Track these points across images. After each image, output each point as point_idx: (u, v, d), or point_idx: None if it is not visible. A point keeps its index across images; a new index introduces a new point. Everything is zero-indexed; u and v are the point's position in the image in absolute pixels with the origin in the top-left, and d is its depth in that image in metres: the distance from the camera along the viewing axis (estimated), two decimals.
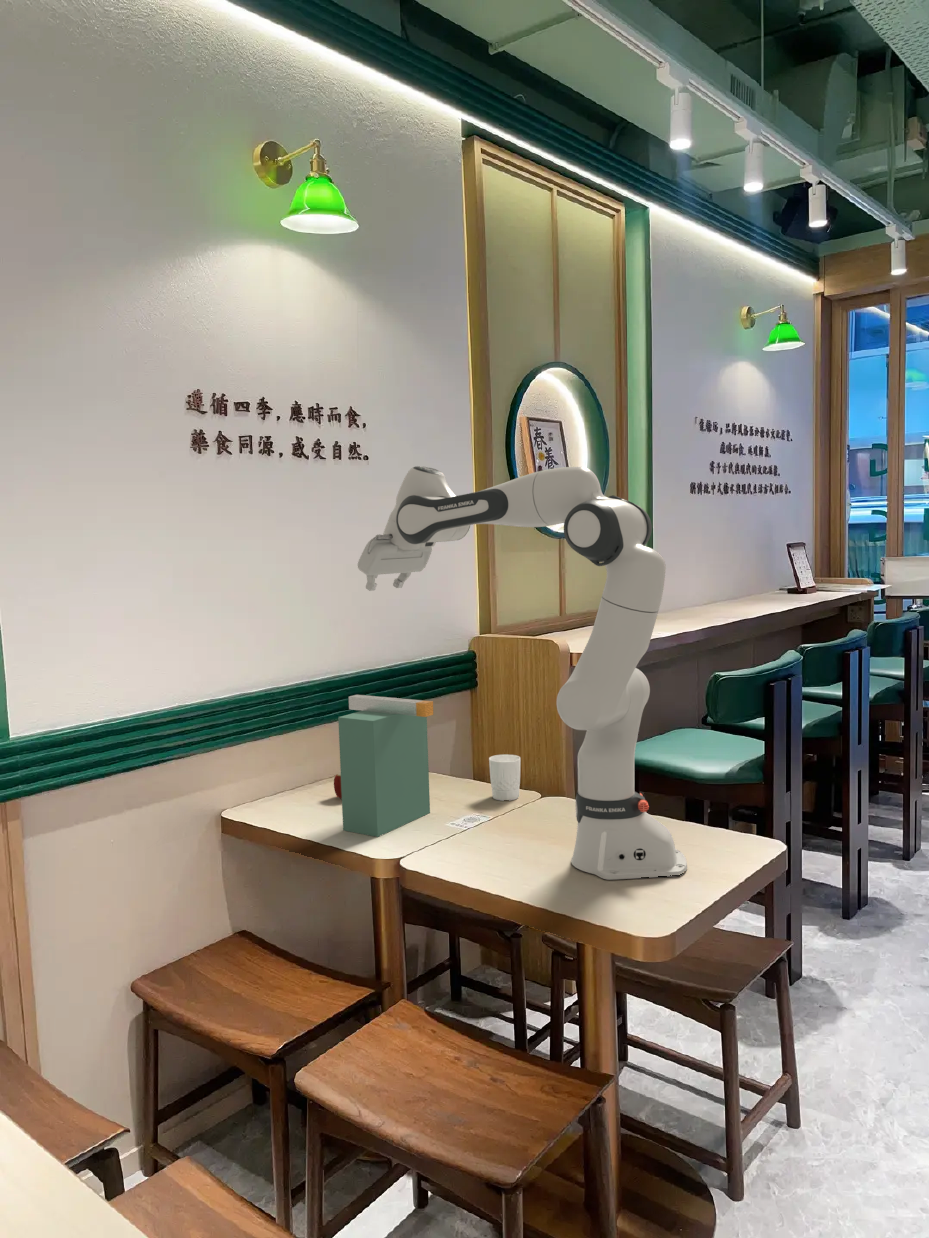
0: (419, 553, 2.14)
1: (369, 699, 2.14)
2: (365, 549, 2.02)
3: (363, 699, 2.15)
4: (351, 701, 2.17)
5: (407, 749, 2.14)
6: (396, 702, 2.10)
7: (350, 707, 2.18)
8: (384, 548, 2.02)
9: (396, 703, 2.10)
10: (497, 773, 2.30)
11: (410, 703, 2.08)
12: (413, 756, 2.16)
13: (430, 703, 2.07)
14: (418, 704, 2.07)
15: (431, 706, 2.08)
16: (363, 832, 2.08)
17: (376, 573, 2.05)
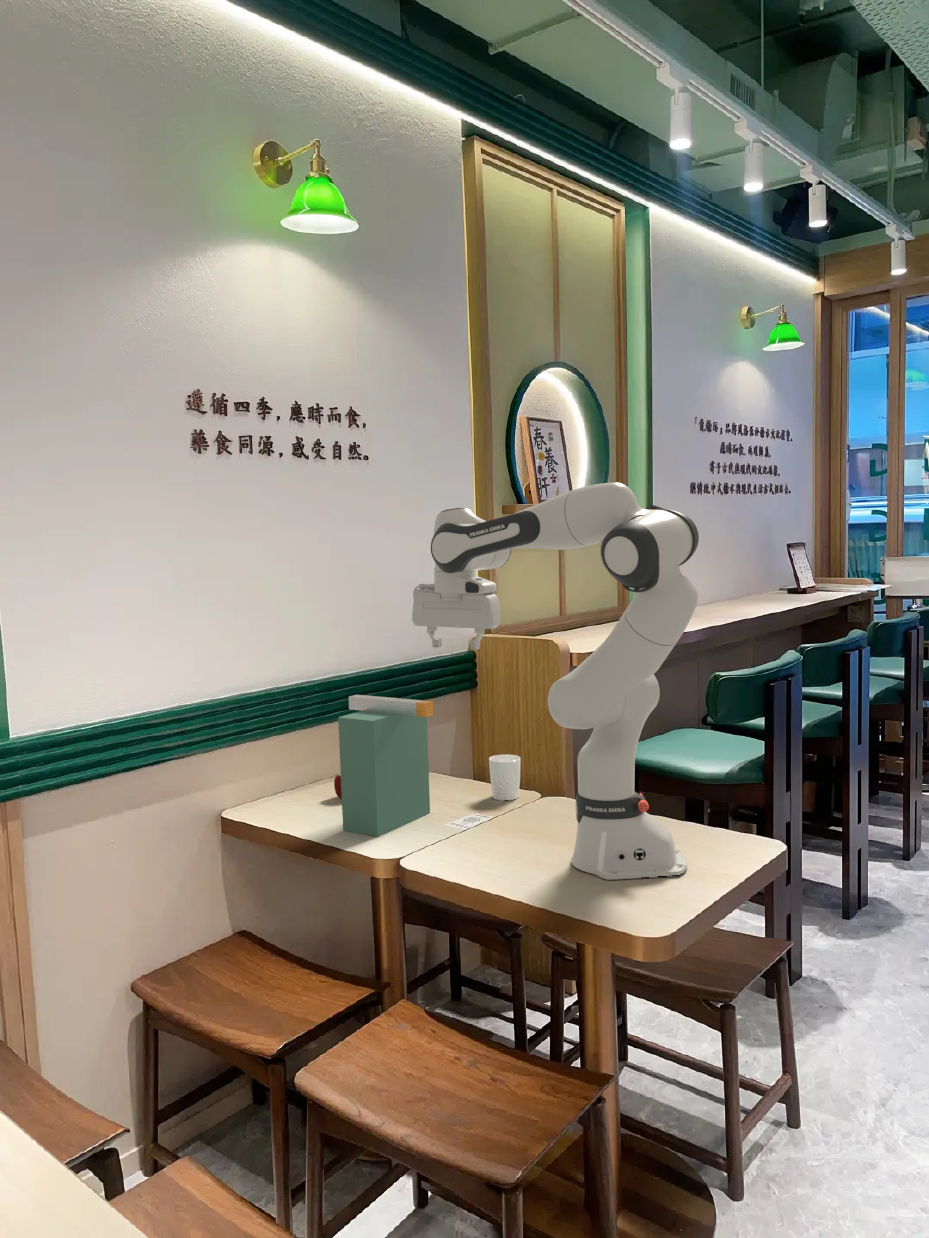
0: (477, 605, 1.96)
1: (369, 699, 2.14)
2: None
3: (363, 699, 2.15)
4: (351, 701, 2.17)
5: (407, 749, 2.14)
6: (396, 702, 2.10)
7: (350, 707, 2.18)
8: (422, 595, 2.02)
9: (396, 703, 2.10)
10: (497, 773, 2.30)
11: (410, 703, 2.08)
12: (413, 756, 2.16)
13: (430, 703, 2.07)
14: (418, 704, 2.07)
15: (431, 706, 2.08)
16: (363, 832, 2.08)
17: (424, 624, 2.03)
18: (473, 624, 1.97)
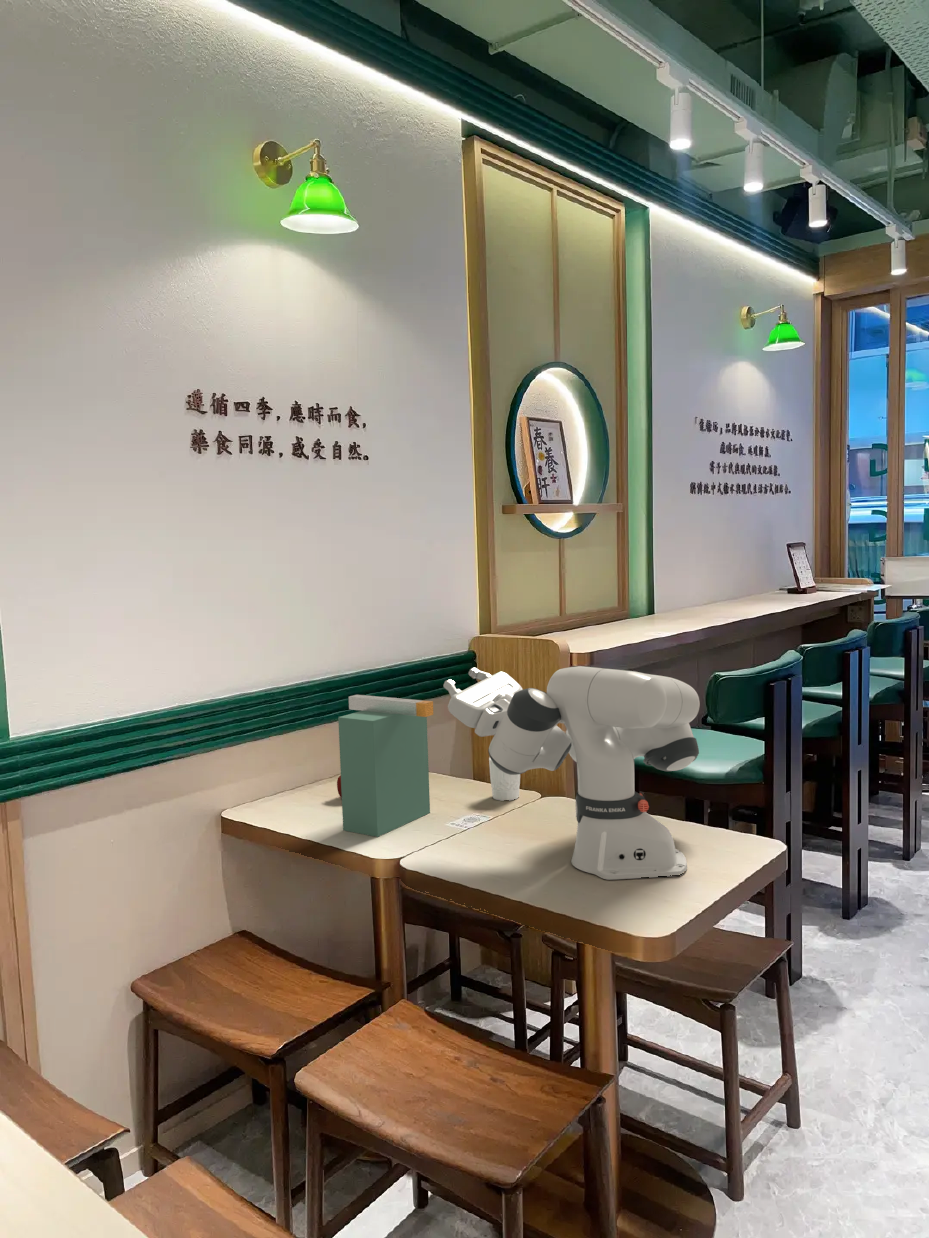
0: (478, 704, 1.96)
1: (369, 699, 2.14)
2: None
3: (363, 699, 2.15)
4: (351, 701, 2.17)
5: (407, 749, 2.14)
6: (396, 702, 2.10)
7: (350, 707, 2.18)
8: (518, 690, 2.05)
9: (396, 703, 2.10)
10: (497, 773, 2.30)
11: (410, 703, 2.08)
12: (413, 756, 2.16)
13: (430, 703, 2.07)
14: (418, 704, 2.07)
15: (431, 706, 2.08)
16: (363, 832, 2.08)
17: (496, 674, 2.07)
18: (466, 691, 1.98)
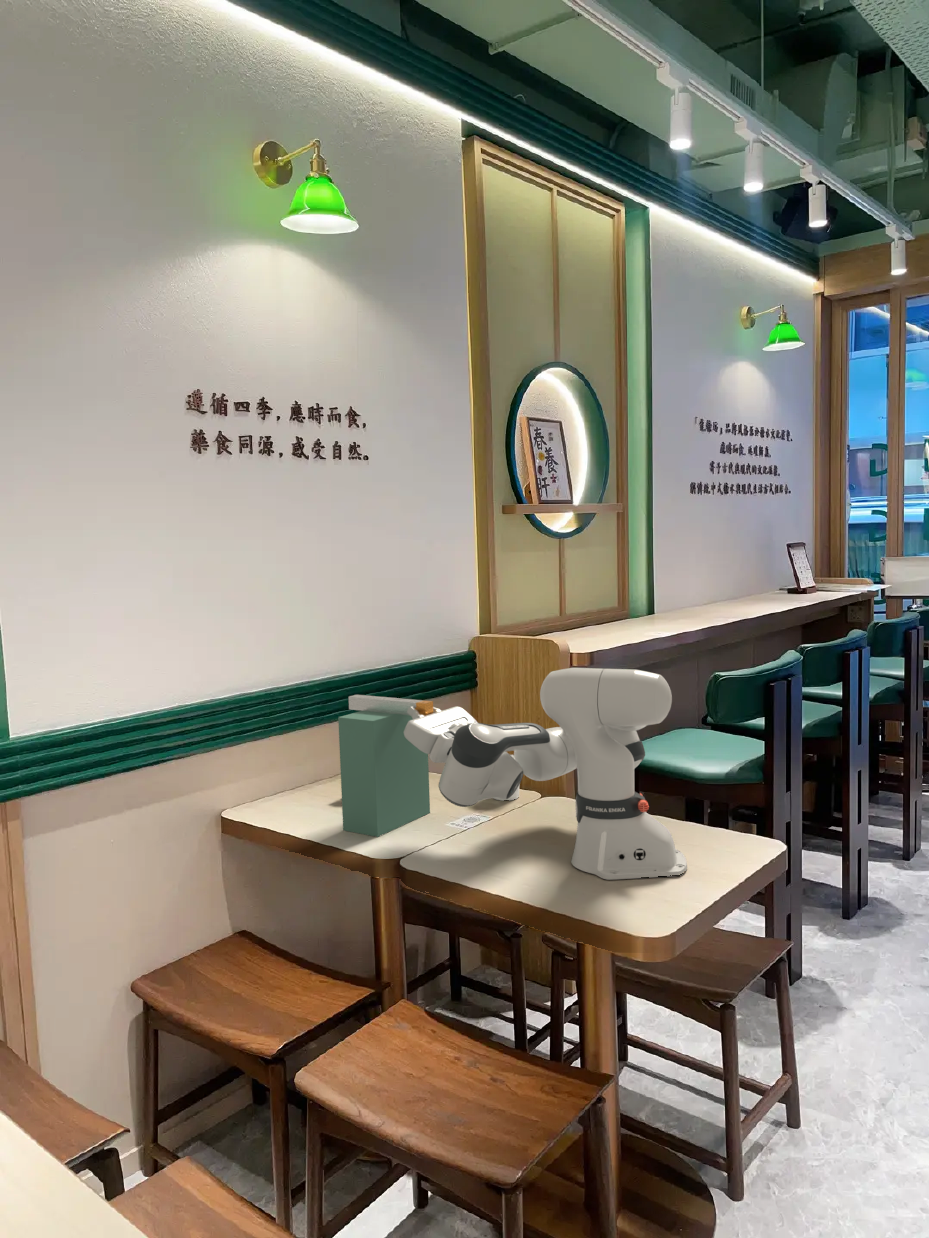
0: (433, 731, 1.99)
1: (369, 699, 2.14)
2: None
3: (363, 699, 2.15)
4: (351, 701, 2.17)
5: (407, 749, 2.14)
6: (396, 702, 2.10)
7: (350, 707, 2.18)
8: None
9: (396, 703, 2.10)
10: None
11: (410, 703, 2.08)
12: (413, 756, 2.16)
13: (430, 703, 2.07)
14: (418, 704, 2.07)
15: (431, 706, 2.08)
16: (363, 832, 2.08)
17: (452, 708, 2.12)
18: (422, 718, 2.02)
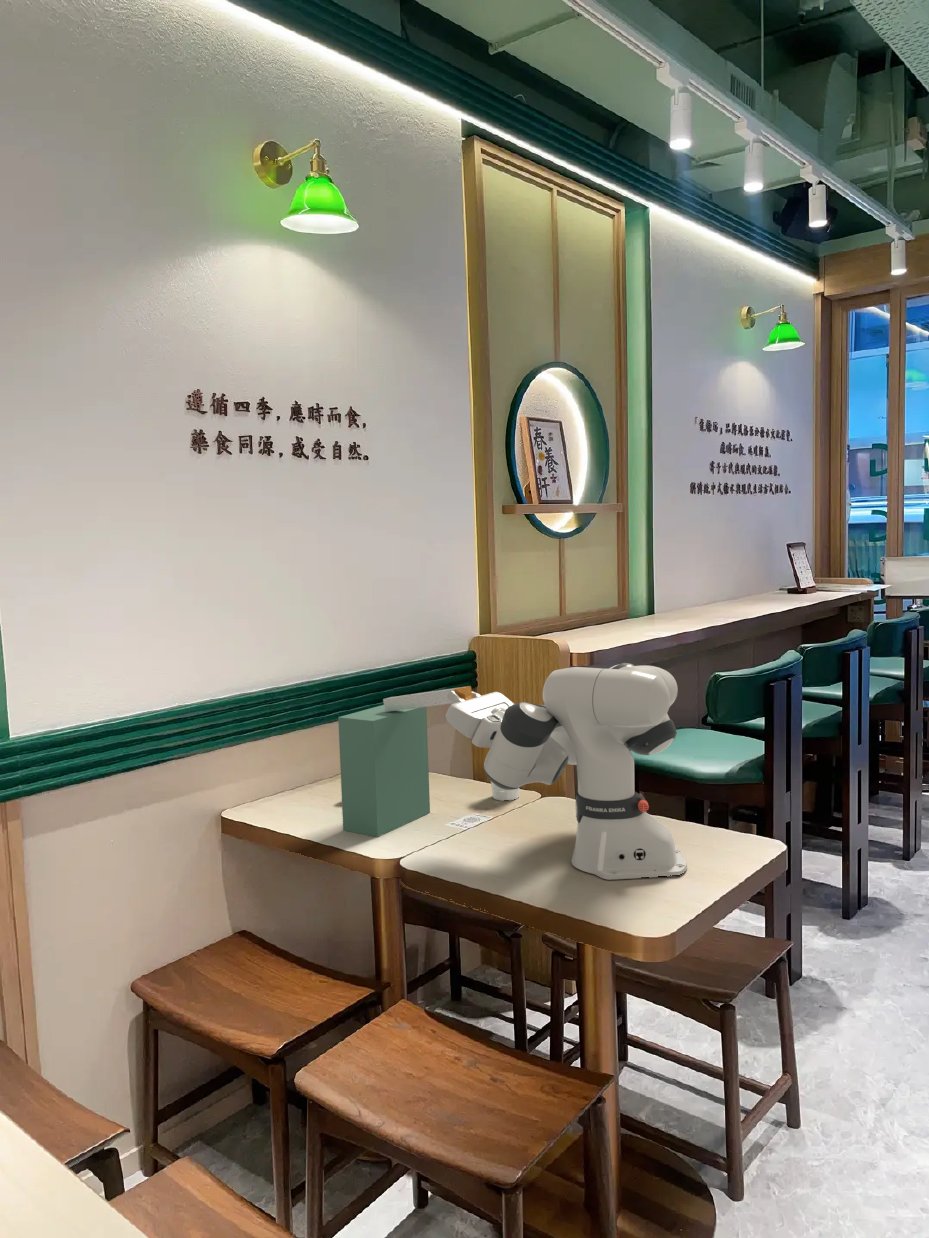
0: (476, 715, 1.95)
1: (405, 697, 2.10)
2: None
3: (398, 698, 2.11)
4: (386, 703, 2.12)
5: (407, 749, 2.14)
6: (433, 693, 2.06)
7: (386, 709, 2.13)
8: None
9: (433, 695, 2.06)
10: None
11: (448, 691, 2.04)
12: (413, 756, 2.16)
13: (468, 687, 2.03)
14: (456, 690, 2.02)
15: (470, 691, 2.04)
16: (363, 832, 2.08)
17: (492, 693, 2.07)
18: (464, 702, 1.97)
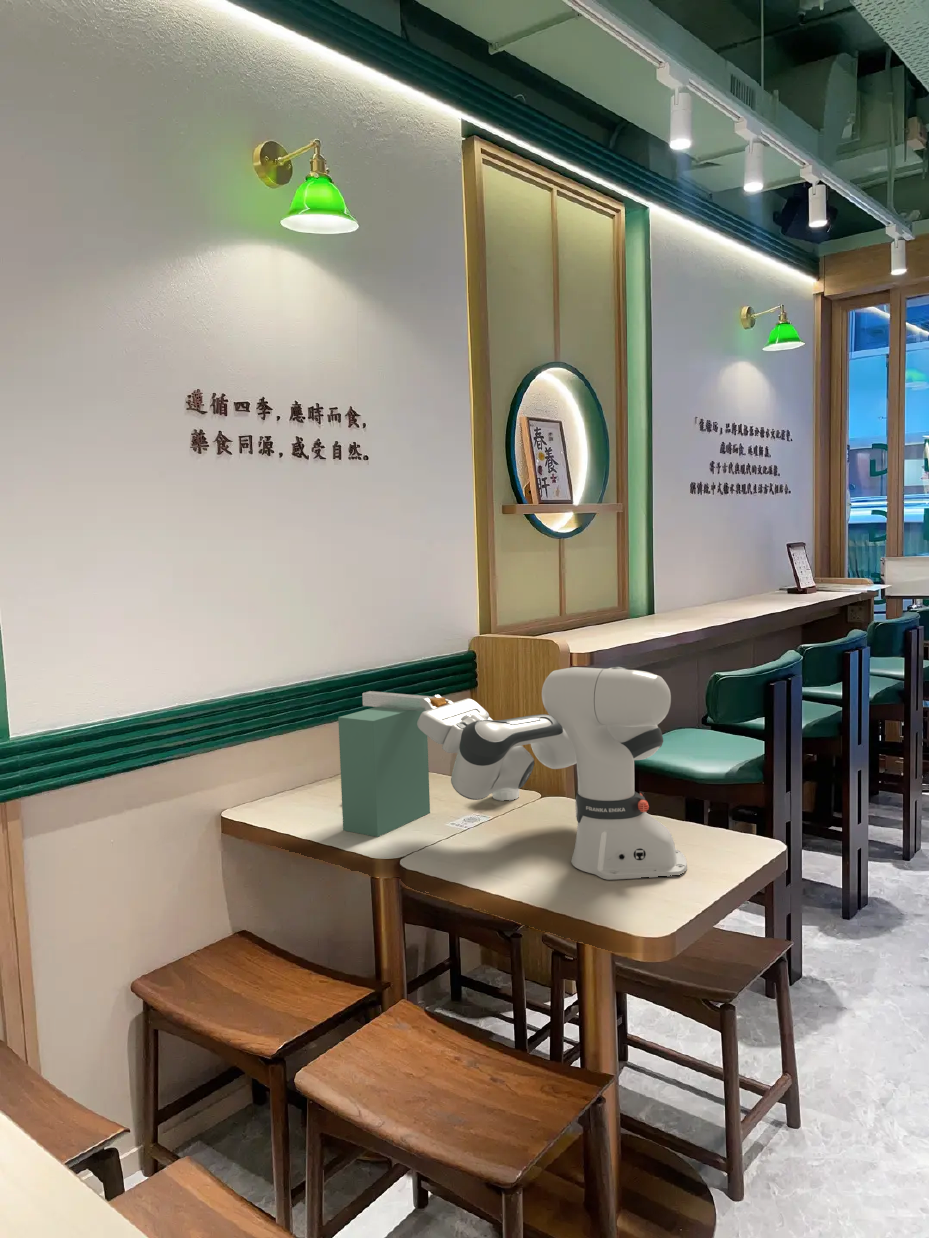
0: (446, 722, 2.03)
1: (382, 695, 2.19)
2: None
3: (377, 695, 2.20)
4: (365, 698, 2.22)
5: (407, 749, 2.14)
6: (409, 698, 2.14)
7: (364, 703, 2.22)
8: (485, 715, 2.14)
9: (409, 700, 2.14)
10: None
11: None
12: (413, 756, 2.16)
13: (442, 699, 2.12)
14: (431, 700, 2.11)
15: (443, 702, 2.12)
16: (363, 832, 2.08)
17: (464, 700, 2.16)
18: (435, 710, 2.06)
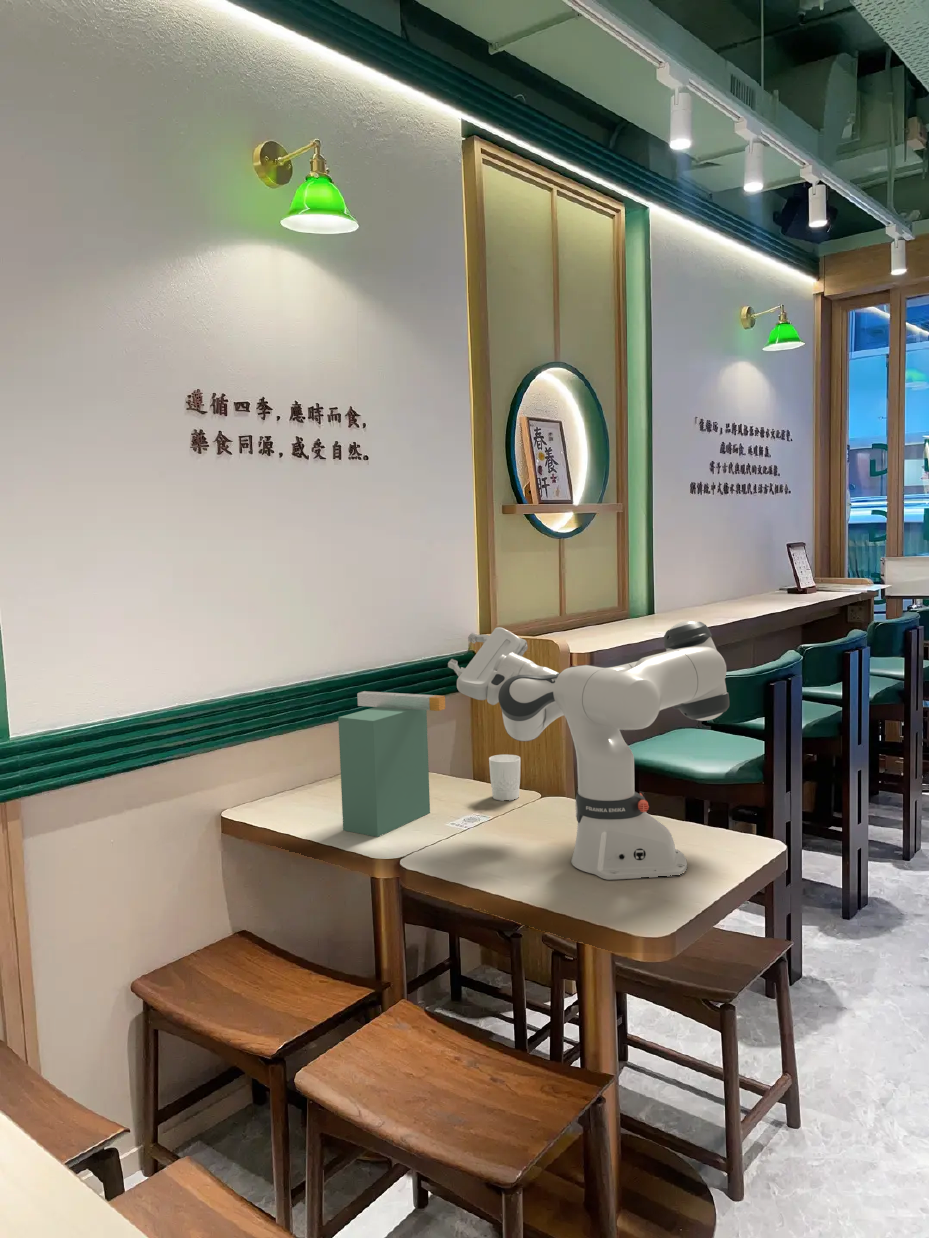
0: (482, 678, 2.14)
1: (379, 695, 2.19)
2: None
3: (373, 695, 2.20)
4: (360, 698, 2.22)
5: (407, 749, 2.14)
6: (408, 697, 2.16)
7: (359, 703, 2.22)
8: (516, 643, 2.21)
9: (408, 699, 2.16)
10: (497, 773, 2.30)
11: (423, 698, 2.14)
12: (413, 756, 2.16)
13: (443, 697, 2.14)
14: (431, 699, 2.13)
15: (443, 700, 2.14)
16: (363, 832, 2.08)
17: (492, 634, 2.22)
18: (468, 668, 2.15)
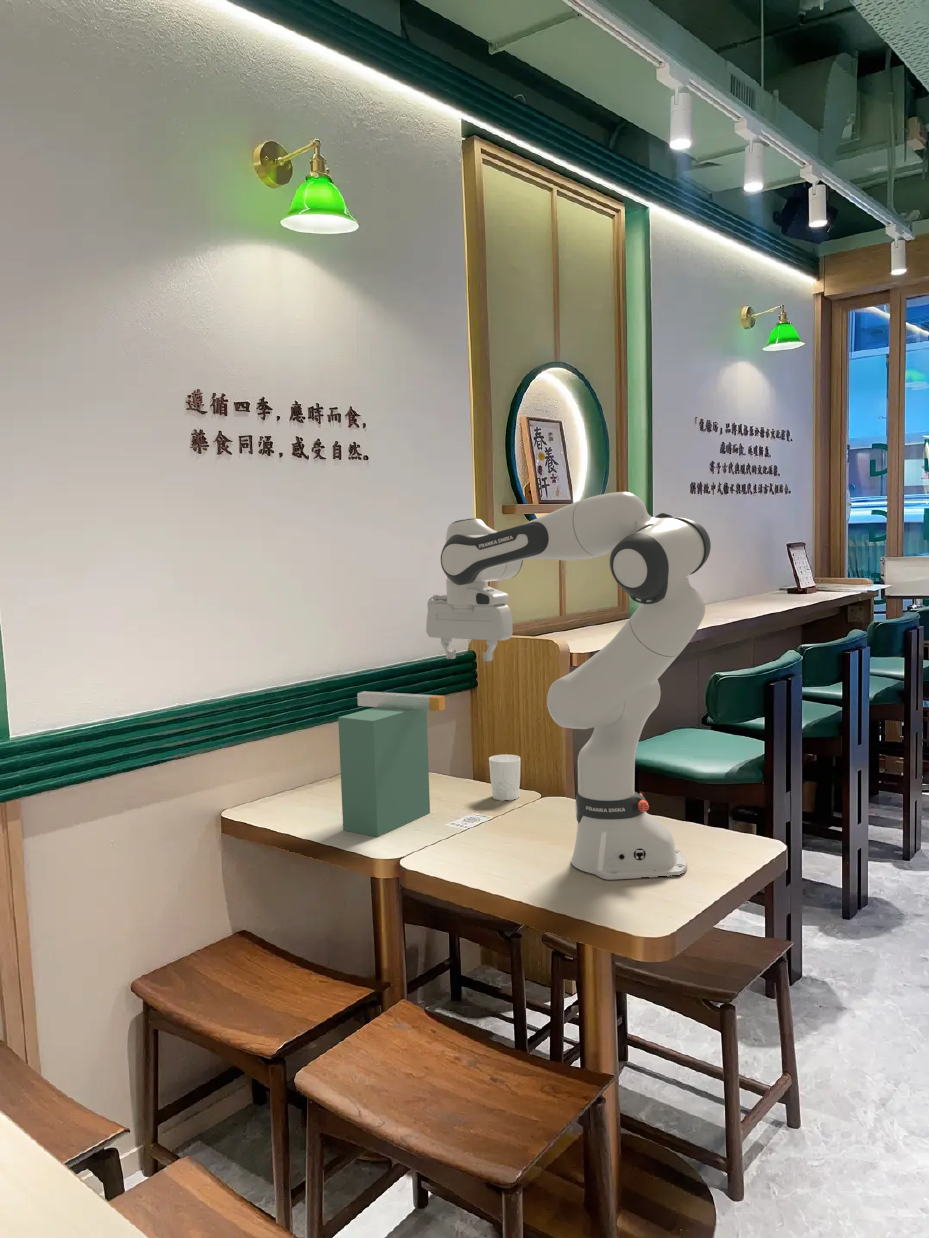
0: (488, 616, 1.95)
1: (379, 695, 2.19)
2: None
3: (373, 695, 2.20)
4: (360, 698, 2.22)
5: (407, 749, 2.14)
6: (408, 697, 2.16)
7: (359, 703, 2.22)
8: (435, 606, 2.01)
9: (408, 699, 2.16)
10: (497, 773, 2.30)
11: (423, 698, 2.14)
12: (413, 756, 2.16)
13: (443, 697, 2.14)
14: (431, 699, 2.13)
15: (443, 700, 2.14)
16: (363, 832, 2.08)
17: (437, 635, 2.02)
18: (485, 636, 1.95)
